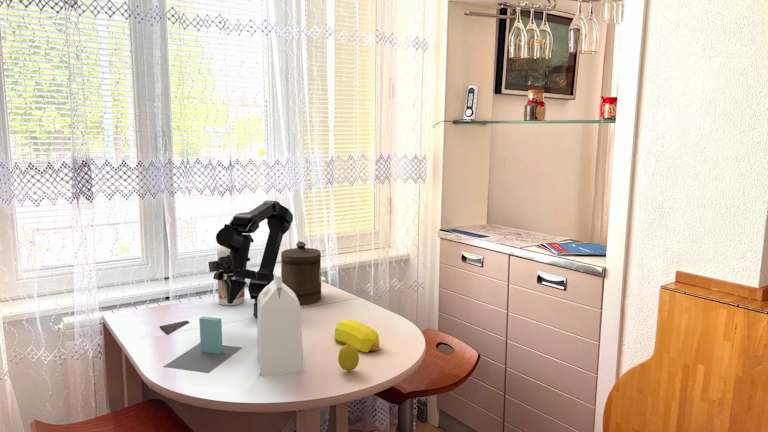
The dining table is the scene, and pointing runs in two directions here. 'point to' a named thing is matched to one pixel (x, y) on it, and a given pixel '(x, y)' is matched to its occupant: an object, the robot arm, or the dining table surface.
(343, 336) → the yellow kitchen sponge
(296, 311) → the milk
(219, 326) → the card box
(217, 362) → the mat
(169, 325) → the chocolate bar
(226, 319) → the dining table surface
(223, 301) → the fruit juice
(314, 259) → the wooden container
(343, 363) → the lemon
